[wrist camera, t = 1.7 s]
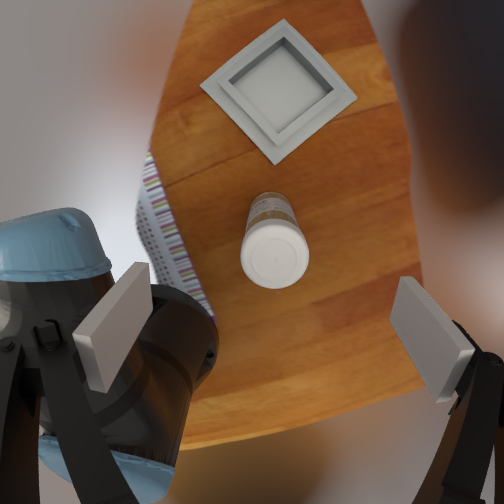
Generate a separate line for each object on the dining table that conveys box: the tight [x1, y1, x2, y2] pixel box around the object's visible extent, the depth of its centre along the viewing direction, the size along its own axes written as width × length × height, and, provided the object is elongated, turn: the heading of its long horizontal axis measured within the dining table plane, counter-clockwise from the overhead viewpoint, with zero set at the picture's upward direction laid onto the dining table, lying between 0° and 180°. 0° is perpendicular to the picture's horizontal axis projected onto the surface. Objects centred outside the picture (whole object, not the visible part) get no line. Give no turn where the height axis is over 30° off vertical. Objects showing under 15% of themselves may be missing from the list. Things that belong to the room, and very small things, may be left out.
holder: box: [200, 19, 357, 165], centre depth 27 cm, size 11×11×4 cm
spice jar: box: [240, 192, 309, 289], centre depth 27 cm, size 5×5×13 cm
